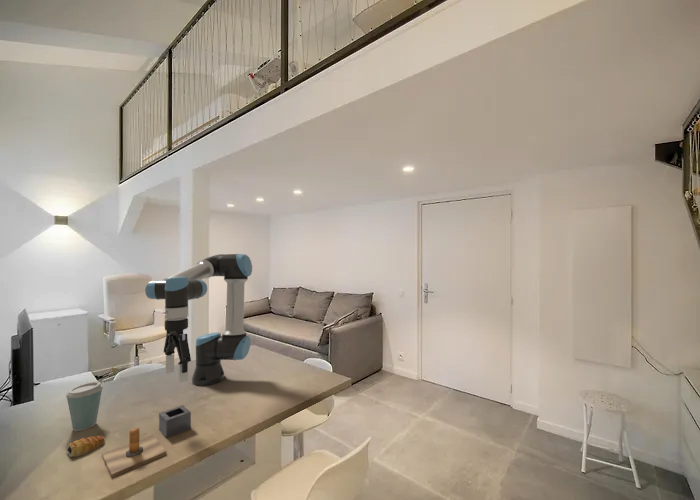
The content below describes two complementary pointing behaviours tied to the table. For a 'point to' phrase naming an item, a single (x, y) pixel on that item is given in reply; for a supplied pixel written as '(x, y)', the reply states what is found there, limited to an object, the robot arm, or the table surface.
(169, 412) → the hollow square block
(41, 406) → the table surface
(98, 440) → the pastry
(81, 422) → the disposable coffee cup
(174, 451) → the table surface
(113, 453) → the keeper
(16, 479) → the table surface
